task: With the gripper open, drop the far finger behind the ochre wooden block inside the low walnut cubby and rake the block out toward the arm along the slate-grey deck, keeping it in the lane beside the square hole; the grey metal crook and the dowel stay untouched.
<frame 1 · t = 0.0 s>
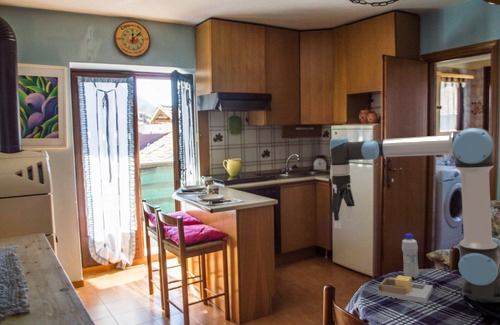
hand: (344, 224, 168), 28 cm above the table, fingers open, 13 cm apart
cubby deck: (405, 293, 161), on the table
block: (403, 290, 159), point 2 cm above the table, touching cubby deck
dowel: (392, 283, 167), point 2 cm above the table, touching cubby deck
crook tool: (398, 282, 168), point 2 cm above the table, touching cubby deck
bottle: (411, 277, 178), on the table
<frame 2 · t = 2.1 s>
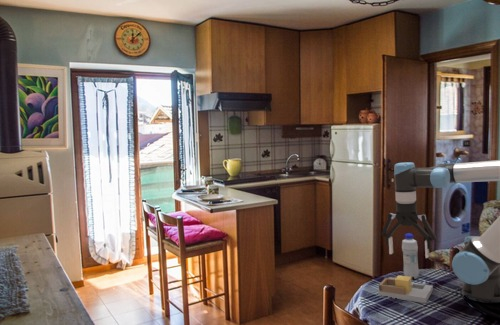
hand: (408, 255, 157), 16 cm above the table, fingers open, 13 cm apart
nothing on the table moved.
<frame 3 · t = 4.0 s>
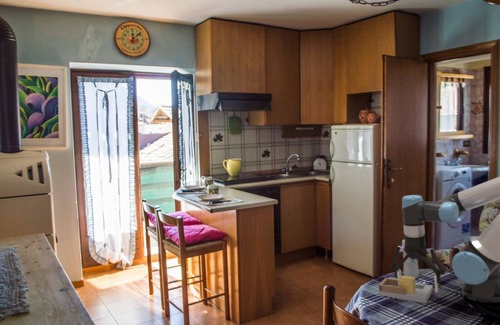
hand: (418, 288, 155), 4 cm above the table, fingers open, 13 cm apart
block: (407, 290, 158), point 2 cm above the table
everything else where it was.
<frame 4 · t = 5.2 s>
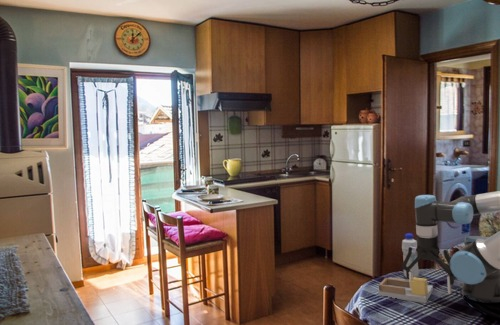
hand: (430, 289, 153), 4 cm above the table, fingers open, 13 cm apart
block: (419, 292, 155), point 2 cm above the table, touching cubby deck
everything else where it was.
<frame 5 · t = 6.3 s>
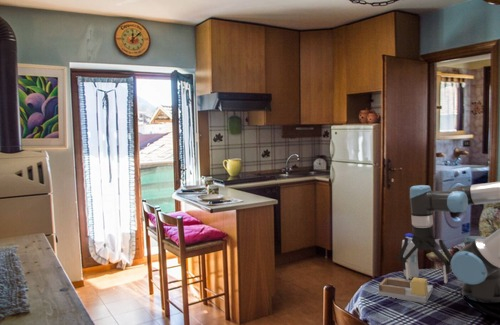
hand: (426, 280, 153), 7 cm above the table, fingers open, 13 cm apart
nothing on the table moved.
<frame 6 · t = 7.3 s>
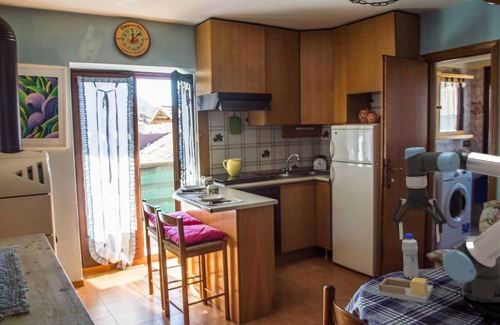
hand: (419, 240, 157), 22 cm above the table, fingers open, 13 cm apart
nothing on the table moved.
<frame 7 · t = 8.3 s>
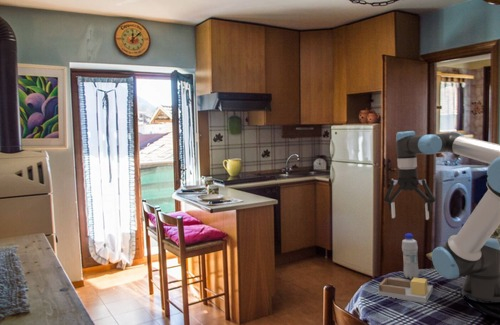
hand: (410, 218, 167), 29 cm above the table, fingers open, 13 cm apart
nothing on the table moved.
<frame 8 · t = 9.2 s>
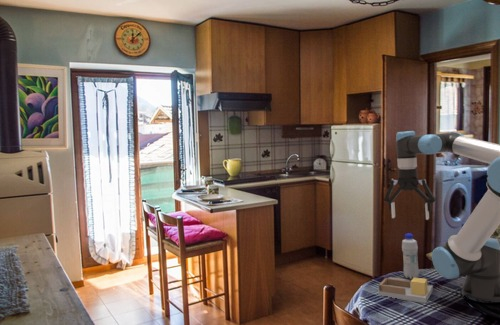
hand: (410, 218, 167), 29 cm above the table, fingers open, 13 cm apart
nothing on the table moved.
at the end: block inside the target area (1.4 cm from its centre), point 2.0 cm above the table; block moved 5.9 cm from its start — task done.
